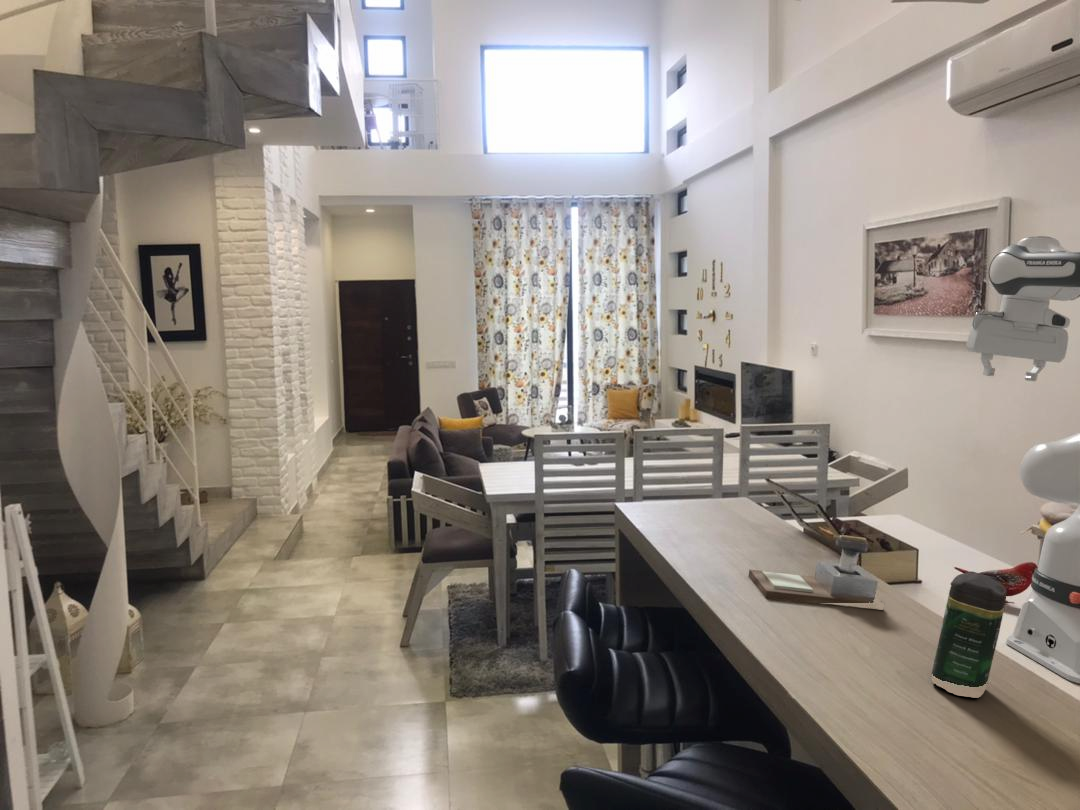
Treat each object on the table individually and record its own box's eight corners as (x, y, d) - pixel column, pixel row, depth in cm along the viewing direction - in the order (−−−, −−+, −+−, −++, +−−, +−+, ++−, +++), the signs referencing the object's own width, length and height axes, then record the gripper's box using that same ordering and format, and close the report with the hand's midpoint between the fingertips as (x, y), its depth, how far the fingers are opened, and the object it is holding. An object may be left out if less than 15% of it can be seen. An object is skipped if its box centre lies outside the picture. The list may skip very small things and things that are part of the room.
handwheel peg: (863, 596, 163) (873, 543, 161) (834, 593, 163) (844, 540, 161) (851, 585, 169) (861, 534, 167) (823, 582, 169) (833, 530, 167)
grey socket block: (874, 599, 161) (877, 580, 161) (830, 595, 161) (834, 576, 160) (855, 583, 170) (859, 565, 170) (814, 578, 170) (817, 560, 169)
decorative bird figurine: (1037, 611, 172) (1047, 566, 170) (950, 596, 174) (959, 552, 173) (1031, 606, 175) (1041, 562, 173) (946, 591, 177) (954, 548, 176)
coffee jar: (981, 707, 123) (1006, 592, 121) (926, 687, 128) (948, 576, 125) (988, 686, 131) (1012, 577, 129) (936, 668, 136) (957, 563, 133)
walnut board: (883, 610, 160) (885, 600, 160) (765, 598, 159) (767, 587, 159) (858, 588, 172) (860, 578, 172) (748, 576, 171) (749, 566, 171)
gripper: (984, 309, 168) (970, 374, 170) (1078, 320, 169) (1063, 385, 171) (967, 308, 175) (954, 371, 177) (1058, 319, 176) (1044, 382, 178)
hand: (1009, 378), depth 174 cm, fingers open, 8 cm apart
